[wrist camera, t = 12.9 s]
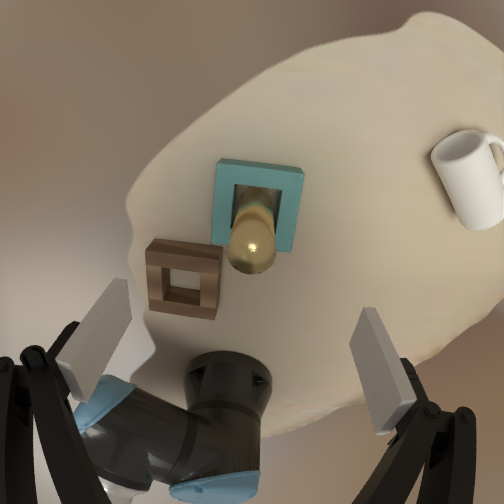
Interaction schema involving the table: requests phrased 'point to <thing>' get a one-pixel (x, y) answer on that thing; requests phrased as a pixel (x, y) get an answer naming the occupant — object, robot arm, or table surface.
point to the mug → (471, 177)
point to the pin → (253, 233)
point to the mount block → (189, 259)
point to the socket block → (259, 176)
